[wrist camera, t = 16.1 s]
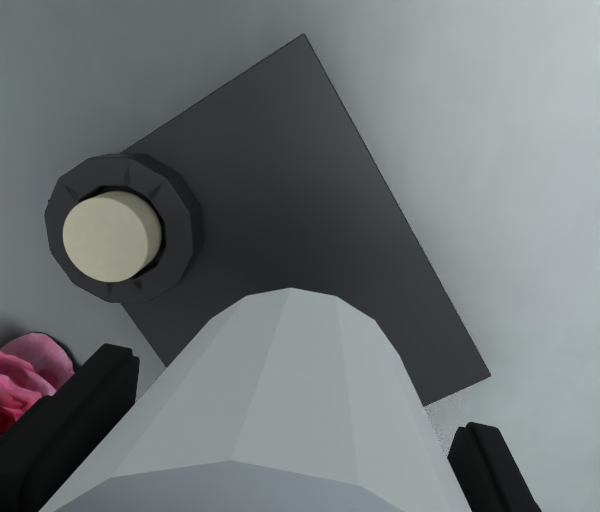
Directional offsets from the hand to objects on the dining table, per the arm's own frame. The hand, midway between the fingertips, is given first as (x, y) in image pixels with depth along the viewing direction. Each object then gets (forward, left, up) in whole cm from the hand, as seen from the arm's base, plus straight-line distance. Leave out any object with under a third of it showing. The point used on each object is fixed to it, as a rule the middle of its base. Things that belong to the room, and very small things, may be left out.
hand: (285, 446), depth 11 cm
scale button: (-6, -6, -12) cm, 15 cm away
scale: (0, -2, -15) cm, 15 cm away
